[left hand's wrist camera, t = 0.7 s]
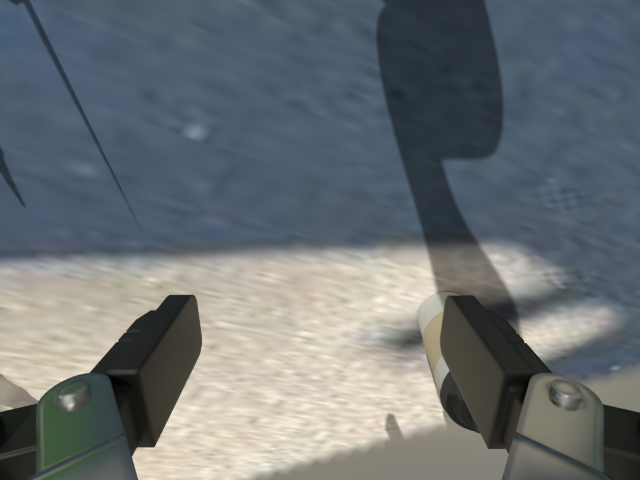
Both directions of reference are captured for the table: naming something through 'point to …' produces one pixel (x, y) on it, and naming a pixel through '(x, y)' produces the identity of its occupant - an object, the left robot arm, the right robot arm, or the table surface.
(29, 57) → the table surface
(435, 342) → the coffee cup
